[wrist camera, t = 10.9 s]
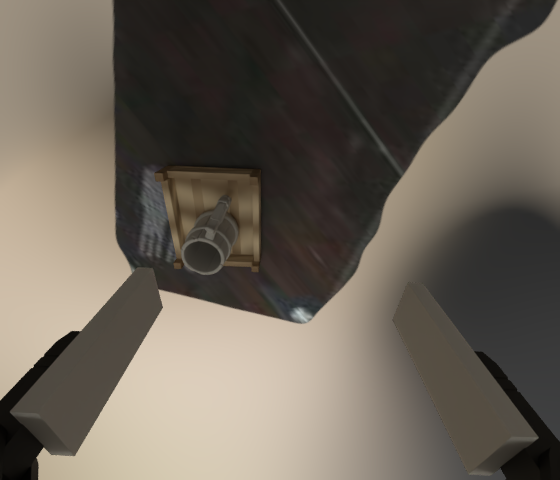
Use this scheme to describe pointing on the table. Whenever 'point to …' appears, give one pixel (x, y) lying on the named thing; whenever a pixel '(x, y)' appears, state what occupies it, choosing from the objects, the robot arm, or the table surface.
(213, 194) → the wooden tray
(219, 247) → the mug
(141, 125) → the table surface
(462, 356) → the robot arm
